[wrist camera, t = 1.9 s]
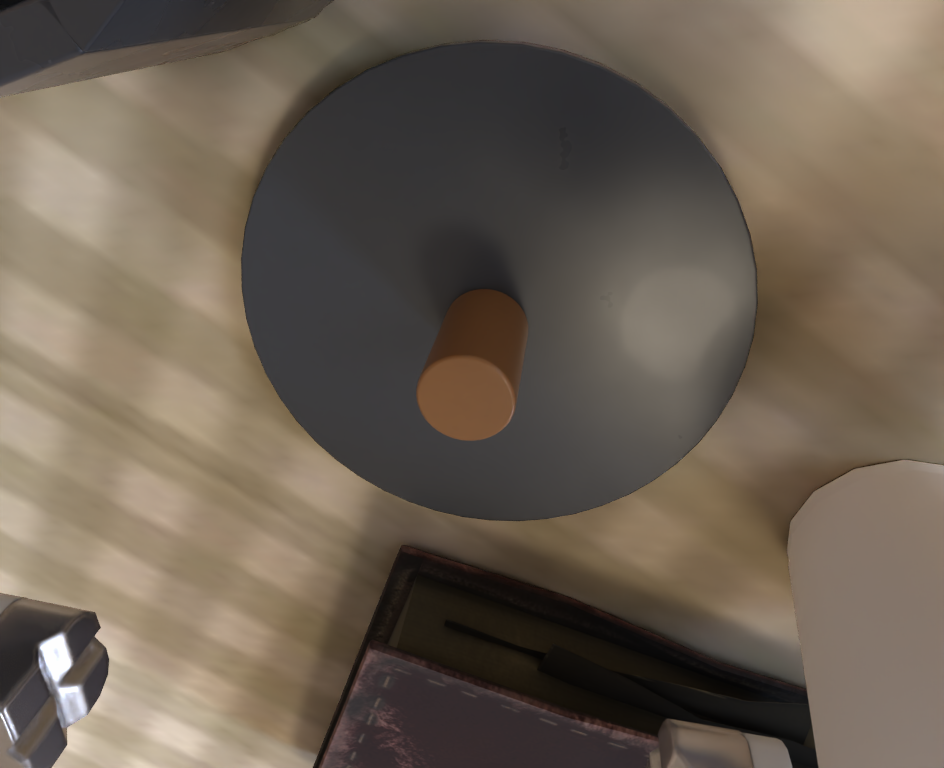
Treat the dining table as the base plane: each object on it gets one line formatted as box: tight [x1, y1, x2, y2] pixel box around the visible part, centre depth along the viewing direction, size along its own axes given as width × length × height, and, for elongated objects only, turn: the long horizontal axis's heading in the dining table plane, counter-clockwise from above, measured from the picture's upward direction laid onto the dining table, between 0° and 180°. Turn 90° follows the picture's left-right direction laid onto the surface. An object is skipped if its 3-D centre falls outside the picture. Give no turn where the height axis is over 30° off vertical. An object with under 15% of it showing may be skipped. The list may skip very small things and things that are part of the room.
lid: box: [241, 40, 758, 521], centre depth 18 cm, size 15×15×5 cm
